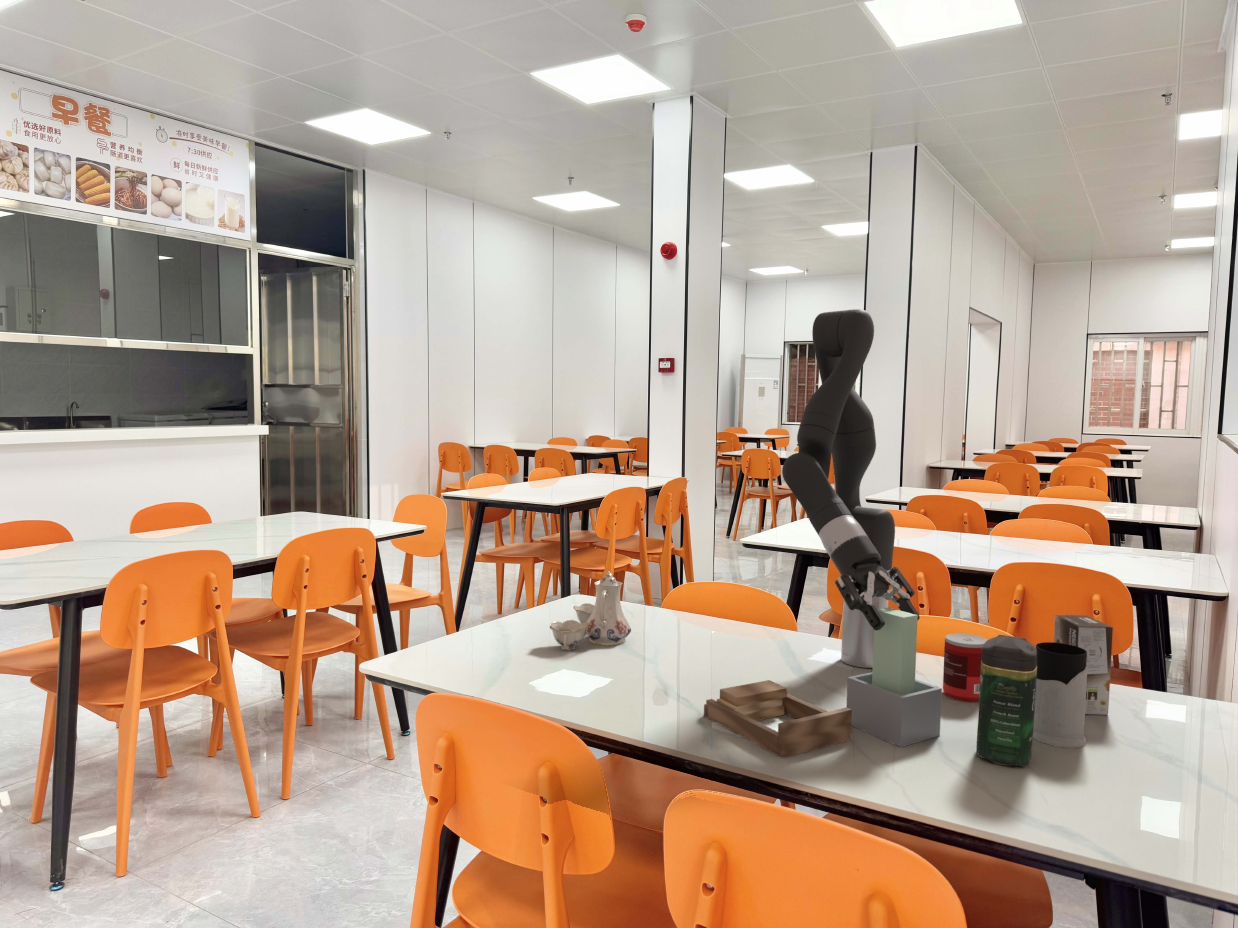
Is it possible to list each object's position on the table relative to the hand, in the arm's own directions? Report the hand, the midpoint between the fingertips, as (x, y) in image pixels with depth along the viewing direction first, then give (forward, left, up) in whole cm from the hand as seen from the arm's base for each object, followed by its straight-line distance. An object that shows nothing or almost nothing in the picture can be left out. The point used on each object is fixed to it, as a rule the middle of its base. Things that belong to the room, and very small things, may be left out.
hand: (898, 624), depth 138 cm
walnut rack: (+17, -10, -18) cm, 27 cm away
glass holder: (-21, +13, -18) cm, 30 cm away
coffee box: (-40, +9, -18) cm, 45 cm away
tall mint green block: (0, -1, -18) cm, 18 cm away
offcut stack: (+17, -17, -18) cm, 30 cm away
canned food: (-26, -5, -18) cm, 32 cm away
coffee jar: (-7, +16, -18) cm, 25 cm away
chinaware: (+17, -72, -18) cm, 76 cm away
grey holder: (0, 0, -18) cm, 18 cm away
